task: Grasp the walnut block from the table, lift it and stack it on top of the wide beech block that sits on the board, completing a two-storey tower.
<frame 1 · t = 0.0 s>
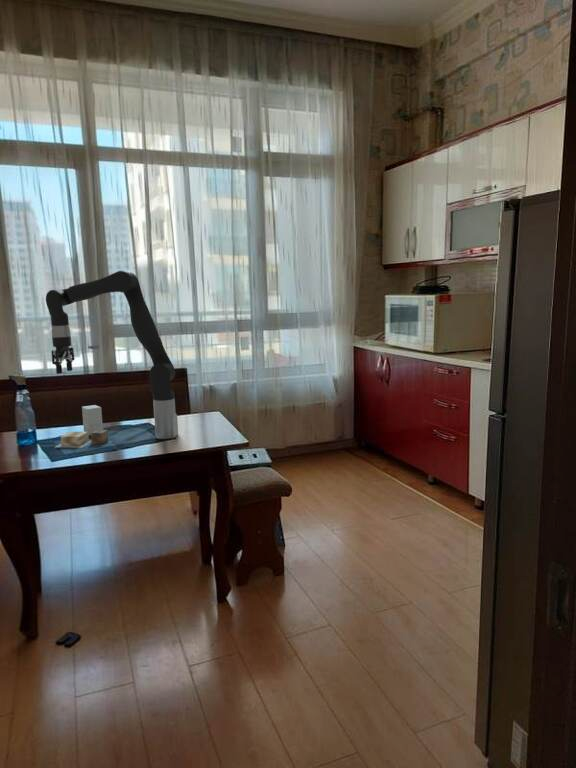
hand: (64, 372, 229), 29 cm above the table, fingers open, 8 cm apart
board: (75, 445, 218), on the table
beech block: (75, 443, 217), point 1 cm above the table, touching board
walnut block: (100, 445, 218), on the table
small box: (93, 435, 235), on the table
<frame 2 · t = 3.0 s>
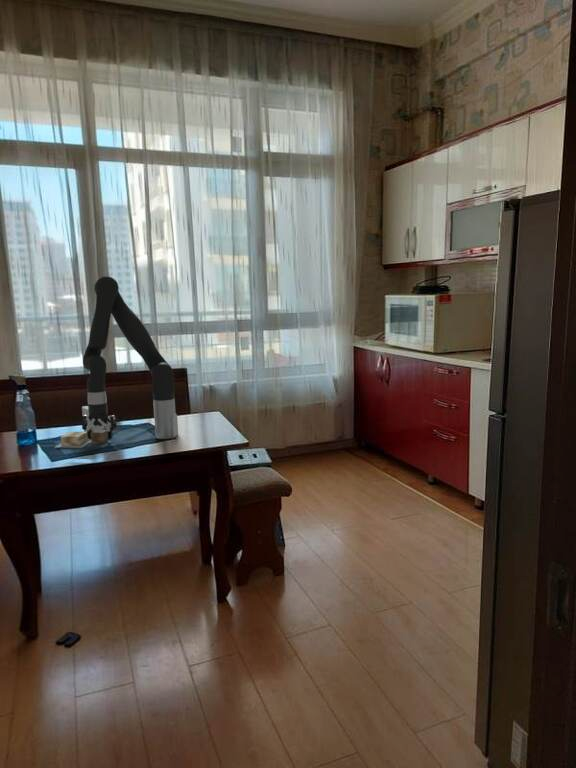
hand: (100, 439, 218), 2 cm above the table, fingers open, 8 cm apart
beech block: (75, 443, 217), point 1 cm above the table, touching board, gripper
everything else where it was.
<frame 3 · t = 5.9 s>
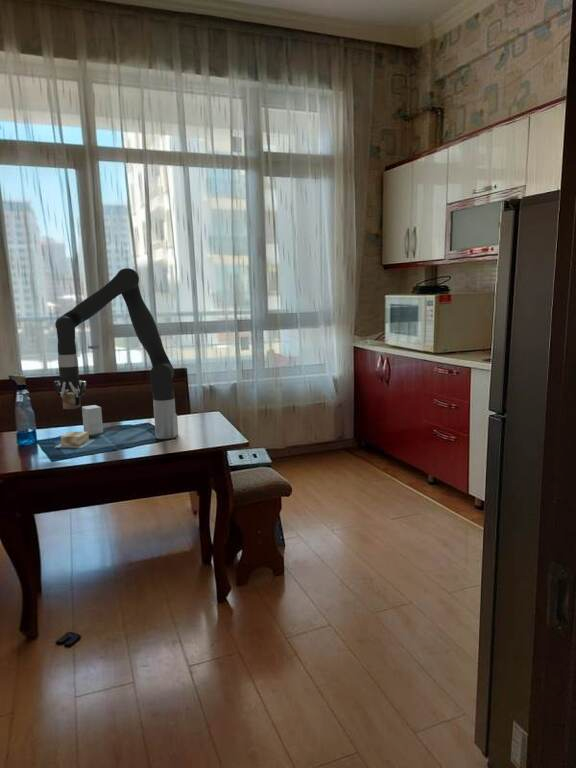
hand: (71, 405, 215), 18 cm above the table, fingers closed on walnut block, 5 cm apart
beech block: (75, 443, 217), point 1 cm above the table, touching board
walnut block: (72, 407, 215), point 17 cm above the table, touching gripper
everything else where it was.
when the fingers open (7 cm above the table, at t = 8.3 s): walnut block stays where it is, resting on beech block.
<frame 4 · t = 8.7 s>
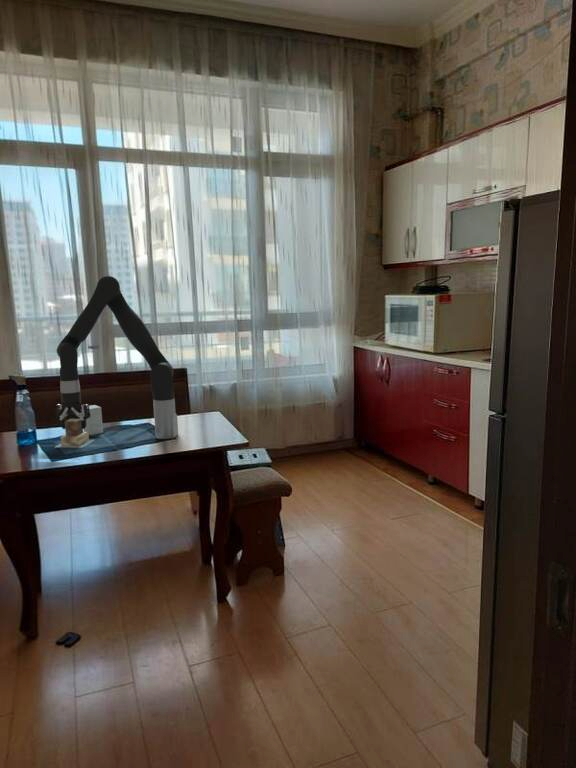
hand: (74, 428, 216), 8 cm above the table, fingers open, 8 cm apart
beech block: (75, 443, 217), point 1 cm above the table, touching board, walnut block
walnut block: (74, 434, 217), point 5 cm above the table, touching beech block
everything else where it was.
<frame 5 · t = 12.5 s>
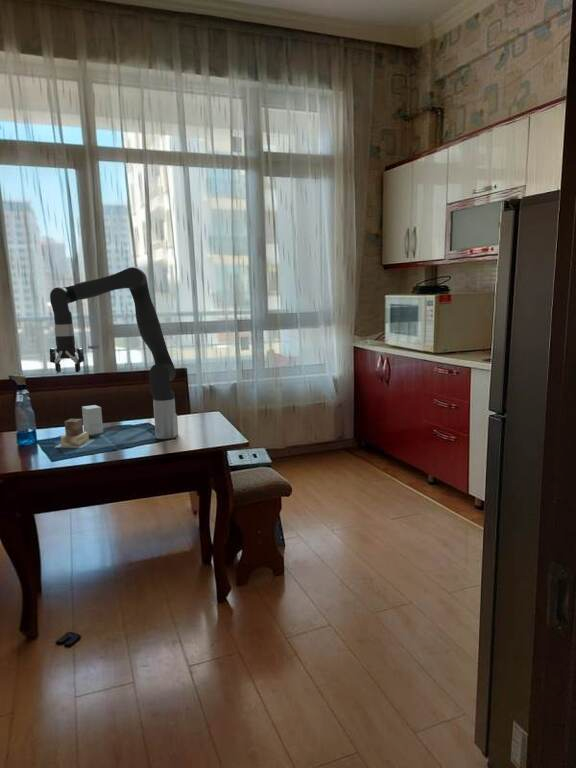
hand: (68, 372, 223), 30 cm above the table, fingers open, 8 cm apart
nothing on the table moved.
at the end: walnut block 0.0 cm off-centre on the beech block, point 4.0 cm above the beech block's base; walnut block tilted 0°; the gripper is holding nothing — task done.
